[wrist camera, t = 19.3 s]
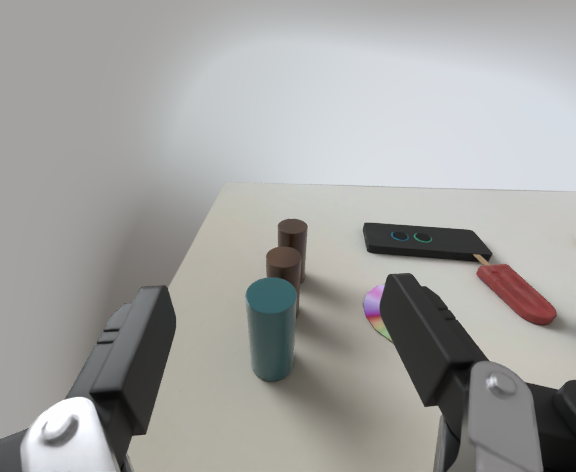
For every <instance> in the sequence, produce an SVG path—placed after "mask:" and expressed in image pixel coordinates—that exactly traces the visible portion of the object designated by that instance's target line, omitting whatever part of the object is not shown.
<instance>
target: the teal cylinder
mask: <svg viewBox="0 0 576 472" xmlns="http://www.w3.org/2000/svg"><path fill="white" fill-rule="evenodd" d="M245 297H246V309H247V320H248V331H249V341H250V352H251V363H252V368H253V371H254V372H255V374H256V375H257V376H258V377H259V378H261V379H263V380H266V381H278V380H281V379H283V378H285V377H286V376H287V375H288V374H289V373H290V372H291V370H292V368H293V364H294V346H295V323H296V301H297V293H296V290H295V288H294V286H293V285H292V284H291V283H289V282H288V281H286V280H284V279H281V278H275V277H269V278H263V279H260V280H258V281H256V282H254V283H253V284H251V285H250V286H249V288H248V289H247V291H246V296H245Z"/></svg>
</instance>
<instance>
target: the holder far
mask: <svg viewBox="0 0 576 472" xmlns="http://www.w3.org/2000/svg"><path fill="white" fill-rule="evenodd" d="M307 227H308V226H307V224H306V223H305V222H303V221H301V220H298V219H286V220H283V221H281V222H280V223H279V224H278V247H291V248H294V249H296V250H297V251H299V253H300V254H301V275H300V284H301V283H302V282H303V280H304V276H305V260H306V244H307Z"/></svg>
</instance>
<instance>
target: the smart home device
mask: <svg viewBox="0 0 576 472" xmlns="http://www.w3.org/2000/svg"><path fill="white" fill-rule="evenodd" d="M363 233H364V238H365V243H366V247H367V251H368V252H370V253H378V254H391V255H403V256H415V257H428V258H440V259H452V260H464V261H477V262H480V261H479V260H478V259H477V258H476V257H475V256H474V255H473V254H478V255H481V256H482V257H483V258H484V259H485V260H486V261H487V262H488V261H489V259H490V257H491V255H492V252H491V251H490V250H489V249H488V248H487V246H486V245H485V244H484V243H483V242H482V241H481V239H480V238H479V237H478V236H477V235H476V234H475V232H473V231H471V230H465V229H451V228H437V227H423V226H409V225H395V224H381V223H364V227H363Z"/></svg>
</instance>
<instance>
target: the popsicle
mask: <svg viewBox="0 0 576 472" xmlns="http://www.w3.org/2000/svg"><path fill="white" fill-rule="evenodd" d="M473 255H474V256H475V257H476V258H477V259H478V260H479V261H480V262H481V263H482V264H483V265H484V266H480V267H479V269H478V271H477V273H476V274H477V275H478V276H479V277H480V278H481V279H482V280H483V281H484V282H485V283H486V284H487V285H488V286H489V287H490V288H491V289H492V290H493V291H494V292H495V293H496V294H497V295H498V296H499V297H501V298H502V299H503V300H504V301H505V302H506V303H507V304H508V305H509V306H510V307H511V308H512V309H513V310H514V311H515V312H516V313H517V314H519V315H520V316H521V317H523V318H524V319H526V320H528V321H530V322H532V323H535V324H540V325H546V324H549V323H551V322H552V321H553V319H554V318H555V317H556V310H555V309H554V307H553V306H552V305H551V304H550V303H549V302H548V301H547V300H546V299H545V298H544V297H543V296H541V295H540V294H539V293H538V292H537V291H536V290H535V289H534V288H533V287H532V286H530V285H529V284H528V283H527V282H526V281H525V280H524V279H523V278H522V277H521V276H519V275H518V274H517V273H516V272H515V271H514V270H513V269H512V268H511V267H510V266H509V265H507V264H498V265H490V264H489V263H488V262H487V261H486V260H485V259H484V258H483V257H482V256H481V255H478V254H473Z"/></svg>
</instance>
